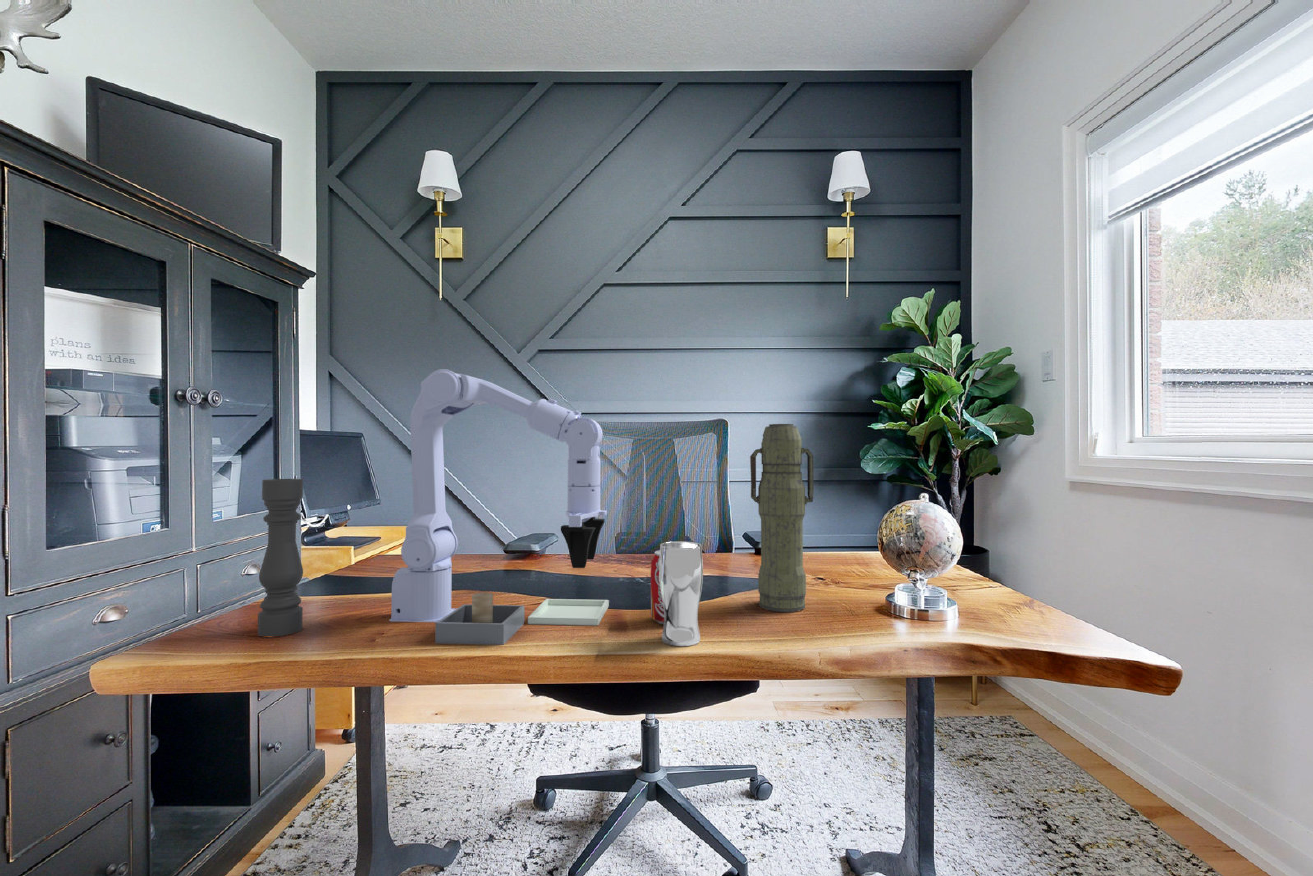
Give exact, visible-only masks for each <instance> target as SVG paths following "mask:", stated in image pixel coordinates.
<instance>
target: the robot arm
mask: <svg viewBox="0 0 1313 876" xmlns="http://www.w3.org/2000/svg"><path fill="white" fill-rule="evenodd" d="M557 403H558V401H557V400H555V399H553V398H550V397H549V398H548V400H547V399H545V398H540V399H538V400H536V401H531V400H529V399H527V398H525V397H523V396H520V395H519V394H517V393H514V392H512V391H510V390H508V389H505V388H503V387H501V386H499V385H497V384H495V383H493V382H490V381H487V380H485V379H482V378H478V377H474V376H470V375H467V374H463V373H456V372H454V371H452V370H450V369H445V368H442V369H441V368H440V369H437V370H434V371H433V372H431V373H430V374H429V375H428V376H427V377H425V378H424V379H423V380H421V382H420V393H419V394H418V397H417V399H416V401H415V403H414V406H413V408H412V410H411V412H410V417H409V425H410V448H411V449H410V450H411V454H410V455H411V474H412V475H411V477H412V480H411V482H412V502H413V503H412V507H413V508H412V509H413V514H412V517H411V518H410V520H409V522H408V524H407V525H406V527H405V538H404V541H403V542H402V544H401V550H400V554H401V558H402V561H403V562H404V564H405V565H406V566H407V567H400V568H399V569H398V570H396V572H395V573H394V575H393V579H392V581H391V582H392V583H391V611H390V612H391V614H390V615H391V616H390V617H391V618H390V619H389V620H388V621H389V622H397V623H398V622H401V623H402V622H403V623H405V622H407V623H408V622H409V623H436V622H438V621H439V620H441V619H442V618H444V617H445V616H447V615H448V614H450V613H451V612H453V611H454V610H456V609H457V608H452V582H453V581H452V567H453V566H452V565H453V564H452V557H453V556H454V555H455V554H456V552H457V550H458V545H459V541H458V537H457V535H456V533H455V532H454V529H453V522H452V519H451V517H450V516H449V514H448V513H447V511H446V509H447V508H446V487H445V486H446V485H445V459H444V457H445V456H444V455H445V454H444V453H445V452H444V432H443V429H444V428H443V427H444V425H446V424H447V423H448V422H449V421H451V420H452V418H453V417H455V415H457V414H460V413H462V412H465V411H466V410H468V409H470V408H472V407H474V406H475V405H480V406H481V405H484V404H490V405H493V406H496V407H497V408H500V409H503V410H505V411H508V412H510V413H512V414H515V415H518V416H520V417H523V418H525V419H526V422H527V424H528V426H529V428H530V429H531V430H534V431H536V432H538V433H541V434H543V435H546V436H547V437H550V438H552V439H555V440H557V441H558V442H560V443H561V442H562V443H563V442H565V443H566V445H567V446H568V459H567V510H566V513H565V514H566V517H567V518H568V524H565V525H561V526H560V532H561V534H562V536H563V537H564V540H565V543H566V545H567V548H568V554H569V559H570V563H571V567H572V569H585V568H586V566H587V562H588V560H594V559H595V555H596V551H597V547H598V540H599V537H600V533H601V531H602V528H603V526H604V524H605V522H606V519H605V518H597V517H599V516H600V517H601V516H606V515H608V510H603V509H601V459H600V455H601V450H600V444H601V443H602V440H603V438H604V437H603V436H604V434H603V429H602V427H601V425H600V424H599V423H598V422H597V421H595V420H594V419H593V418H592V417H583V416H582V417H581V415H582V411H580V410H579V411H578V410H577V409H576V410H574V411H572V410H570V409H568V408H567V407H566V408H565V407H563V406H560V405H559V404H557Z"/></svg>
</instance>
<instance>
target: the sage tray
mask: <svg viewBox="0 0 1313 876" xmlns="http://www.w3.org/2000/svg"><path fill="white" fill-rule="evenodd" d="M609 603H610V600H609V599H575V598H574V599H568V598H567V599H566V598H545V600H544V601H542V603H540V605H539V606H537V608H535V609H534V611H533V612H531V614H530V615H529V616H528V617H527V624H528V625H547V626H548V625H549V626H554V625H555V626H599V625H600V623H601V621H602V619H603V617H604V615H605V614H606V612H607V610H608V608H609V606H610V605H609Z"/></svg>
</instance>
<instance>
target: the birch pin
mask: <svg viewBox="0 0 1313 876" xmlns="http://www.w3.org/2000/svg"><path fill="white" fill-rule="evenodd" d="M471 605H472V623H493V605H494V593H492V592H477V593H474V594H472V596H471Z"/></svg>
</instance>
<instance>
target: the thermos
mask: <svg viewBox="0 0 1313 876" xmlns="http://www.w3.org/2000/svg"><path fill="white" fill-rule="evenodd" d="M760 444H761V445H760V448H758V449H755V450H754V451H753V452H752V453H751V455H750V456H749V459H750V460H749V462H750V464H749V465H750V498H751V499H752V500H753V501H754V502H755V503H756V504H758V505H757V506H758V515H759V518H760V567H759V570H758V576H757V577H758V578H757V580H758V583H757V585H758V586H757V587H758V594H759V601H758V602H759V607H760V608H762V609H764V610H766V609H767V610H766V611H771V612H777V613H796V612H795V611H798V612H800V611H799V610H802V609H804V608H805V609H806V602H805V601H806V599H805V596H806V595H807V589H806V588H807V577H806V572H805V570H804V559H803V558H804V554H803V553H804V551H803V550H804V542H803V541H804V536H803V535H804V534H803V533H804V525H803V524H804V523H803V522H804V521H803V520H804V517H805V515H806V505H808V503H813V501H814V454H813V453H812V452H811V451H810V449H809V448H805V447H802V437H801V435H800V431H799V428H798V426H796V425H795V426H794V424H793V423H772V424H768V426H765V428H764V431H763V433H762V439H761V443H760ZM758 454H761V465H762V472H761V478H760V481H759V484H758V491H757V456H758ZM803 454H804V455H805V454H806V456H807V467H806V468H807V496H806V487H805V484H804V480H803V476H802V472H801V469H802V468H801V467H802V466H801V465H802V463H803V462H802V457H803V456H802V455H803ZM757 492H758V495H757ZM805 609H804V610H805ZM802 611H803V610H802Z"/></svg>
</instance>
